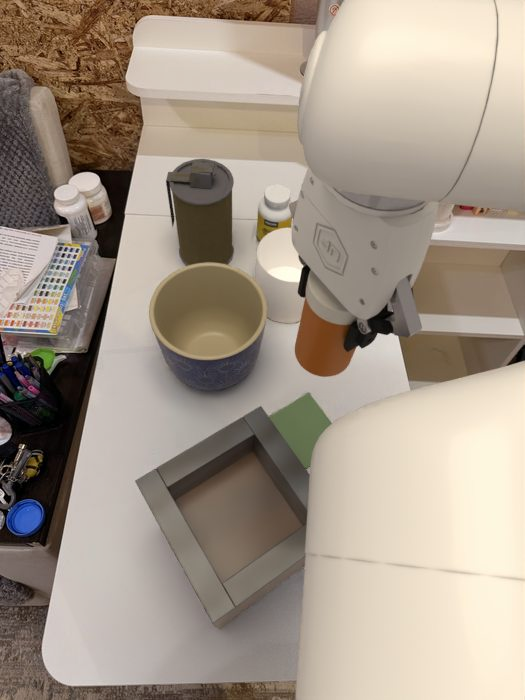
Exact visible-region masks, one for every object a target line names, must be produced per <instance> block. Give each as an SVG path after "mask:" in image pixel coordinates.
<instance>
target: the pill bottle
mask: <svg viewBox="0 0 525 700" xmlns="http://www.w3.org/2000/svg"><path fill="white" fill-rule="evenodd" d="M263 193H264V194H263V197H262V198H261V199H260V200H259V202H258V205H257V221H256V239H257V242H258V243H259V242H260V241H261V240H262V238H263V237H265V236H266V235H267V234H268V233H270V232H272V231H274V230H278V229H281V228H292V224H293V218H292V215H291V212H290V209H289V204H290V203H292V202H293V201H292V200H291V196H292V195H291V191H290V189H289V188H288V187H287V186H285V185H284V184H279V183H275V184H270V185H268V186H267V187H266V188H265V190H264V192H263Z"/></svg>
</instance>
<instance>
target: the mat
mask: <svg viewBox="0 0 525 700" xmlns="http://www.w3.org/2000/svg"><path fill="white" fill-rule="evenodd" d="M268 417H269V418H270V419H271V421H272V422H273V424H274V425H275V426H276V428H277V429H278V431H279V432H280V433H281V435H282V436H283V438H284V439H285V441H286V442H287V443H288V445H289V446H290V448H291V449H292V450H293V452H294V453H295V455H296V456H297V457H298V459H299V460H300V462H301V463H302V464H303V466H304V467H305V469H306V470H307V469H308V468H310V464H311V457H312V452H313V449H314V446H315V444H316V442H317V440H318V438H319V436H320V435H321V434H322V433H323V432H324V430H325V429H326V428H327V427H329V426H330V425H331V424H332V423H333V422H332V421H331V419H330V418H329V417H328V415H327V414H326V413H325V412H324V410H323V409H322V407H321V406H320V405H319V404H318V402H317V401H316V400H315V398H314V397H313V396H312V395H311V394H310V392H307V393H306V394H304V395H302V396H300V397H299V398H297V399H296V400H293V401H292V402H291V403H289V404H287V405H285V406H284V407H282V408H280V409H279V410H277V411H276V412H273V414H271V415H268Z"/></svg>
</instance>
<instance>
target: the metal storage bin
mask: <svg viewBox="0 0 525 700" xmlns="http://www.w3.org/2000/svg"><path fill="white" fill-rule="evenodd" d="M309 476H310V472H309V471H308V470H307V469H305V467H304V466H303V464H302V463H301V462H300V460H299V459H298V457H297V456H296V455H295V453H294V452H293V450H292V449H291V448H290V446H289V445H288V443H287V442H286V441H285V439H284V438H283V436H282V435H281V433H280V432H279V431H278V429H277V428H276V426H275V425H274V424H273V422H272V421H271V419H270V418H269V415H268V414H267V412H266V411H265V409H264V408H263V407H262V405H260V406H258V407H257V408H255V409H253V410H252V411H250V412H248V413H246V414H245V415H243V416H242V417H239V418H238V419H236V420H235V421H233V422H231V423H230V424H228V425H226V426H225V427H223V428H221V429H219V430H218V431H216V432H214V433H213V434H211V435H210V436H208V437H206V438H204V439H202V440H201V441H199V442H198V443H196V444H194V445H192V446H191V447H189V448H187V449H185V450H184V451H183V452H181V453H179V454H177V455H175V456H174V457H172V458H170V459H169V460H167V461H165V462H164V463H162V464H161V465H159V466H157V467H156V468H154V469H152V470H150V471H148V472H146V473H145V474H144V475H142V476H140V477H139V478H137V479H135V480H134V483H135V484H136V486H137V487H138V489H139V492H140V493H141V496H142V497H143V498H144V501H145V502H146V504H147V506H148V508H149V510H150V512H151V514H152V515H153V517H154V519H155V521H156V523H157V524H158V526H159V528H160V530H161V532H162V534H163V535H164V537H165V539H166V541H167V543H168V545H169V546H170V548H171V550H172V552H173V554H174V555H175V556H176V560H177V561H178V563H179V564H180V566H181V568H182V570H183V572H184V573H185V576H186V577H187V579H188V581H189V583H190V585H191V586H192V587H191V588H192V589H193V590H194V592H195V594H196V596H197V597H198V599H199V602H200V603H201V605H202V606H203V609H204V610H205V612H206V614H207V615H208V618H209V619H210V622H211V623H212V625H214V626H215V627H216V628H217V630H220V629H222V628H223V627H224V626H226V625H227V624H228V623H230V622H231V621H233V620H234V619H235V618H236V617H237V616H239V615H241V614H242V613H243V612H244V611H245V610H247V609H248V608H250V607H251V606H252V605H254V604H255V603H257V602H258V601H260V600H261V599H262V598H263V597H265V596H266V595H267V594H269V593H270V592H272V591H273V590H274V589H276V588H277V587H279V586H280V585H281V584H282V583H284V582H285V581H287V579H290V578H291V577H292V576H294V575H295V574H296V573H297V572H299V571H300V570H301V569H303V568H305V554H306V553H305V542H306V527H307V512H308V494H309Z"/></svg>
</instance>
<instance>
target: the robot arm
mask: <svg viewBox="0 0 525 700" xmlns="http://www.w3.org/2000/svg"><path fill="white" fill-rule="evenodd" d="M296 121H297V123H296V126H297V136H298V140H299V143H300V145H301V146H302V150H303V155H304V159H305V162H306V165H307V166H308V167H307V170H306V172H305V175H304V178H303V180H302V183H301V187H300V190H299V193H298V198H297V200H295V201H291V202H292V203H290V204H289V209H290V212H291V215H292V225H291V228H292V243H293V246H294V248H295V250H296V251H297V253H298V254H299V255H298V257H299V261H300V262H301V264H302V265H303V268H302V271H301V276H300V282H299V287H298V294H299V295H300V297H303V298H305V296H306V286H307V281H308V276H309V272H310V270H312V271H313V272H314V273H315V274H316V275H317V277H318V278H319V279H320V280H321V281H322V282H323V283H324V285H325V286H326V287H327V288H328V289H329V290H330V291H331V292H332V294H333V295H334V296H335V297H336V298H337V299H338V300H339V301H340V302H341V304H342V305H343V306H344V307H345V308H346V309H347V310H348V311H349V312H350V313H352V314H353V315H354V316H356V317H357V320H356V321H355V322H353V323H352V324H351V325H350V327H349V330H348V333H347V335H346V338H345V341H344V343H343V345H344V347H343V348H344V349H345V350H346V351H347V352H349V351H351V350H352V349H354V348H356V349H357V347H359V348H360V349H364V348H366V347H368V346H370V345H371V344H372V343H373V342H374V341H375V340H376V338H377V336H378V334H380V335H384V336H388V335H390V334H392V335H393V336H398V337H402V338H406V339H409V338H411V337H413V336H414V335H415V334H417V333H419V332H420V331H422V329H423V325H422V322H421V318H420V314H419V311H418V308H417V305H416V300H415V298H414V294H413V291H412V288H413V286H414V285H415V282H416V280H417V278H418V276H419V274H420V271H421V269H422V266H423V265H424V261H425V259H426V255H427V253H428V250H429V247H430V245H431V240H432V238H433V234H434V229H435V225H436V220H437V217H438V210H439V204H448V205H454V206H455V205H456V206H463V207H471V208H481V209H491V210H500V211H508V212H509V211H510V212H516V213H517V212H518V213H525V0H343V1H342V3H341V5H340V6H339V8H338V10H337V12H336V14H335V15H334V17H333V19H332V21H331V23H330V24H329V27H328V28H327V30H322V31H321V32H320V33H319V35H318V36H317V37H316V38H315V41H314V43H313V46H312V47H311V50H310V52H309V54H308V58H307V61H306V65H305V69H304V74H303V76H302V82H301V86H300V92H299V99H298V108H297V120H296ZM309 474H310V476H309V494H308V512H307V527H306V542H305V553H306V554H305V566H304V567H303V568H304V569H303V582H302V583H303V585H302V596H301V611H300V626H299V640H298V651H297V652H298V653H297V668H296V680H295V695H294V700H525V360H522V361H518V362H515V363H512V364H509V365H504V366H502V367H498V368H494V369H490V370H485V371H482V372H478V373H474V374H471V375H470V374H469V375H466V376H462V377H458V378H455V379H450V380H447V381H442V382H438V383H434V384H429V385H424V386H421V387H418V388H414V389H411V390H406V391H404V392H400V393H397V394H394V395H390V396H387V397H384V398H380V399H378V400H374V401H371V402H369V403H366V404H363V405H362V406H360V407H358V408H356V409H354V410H352V411H350V412H348V413H347V414H344V415H343V416H341V417H339V418H337V419H336V420H334V421H333V422H332V424H331V425H330V426H329V427H327V428H326V429H325V430H324V432H323V433H322V434H321V435H320V436H319V438H318V440H317V442H316V444H315V446H314V449H313V452H312V457H311V464H310V467H309Z"/></svg>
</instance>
